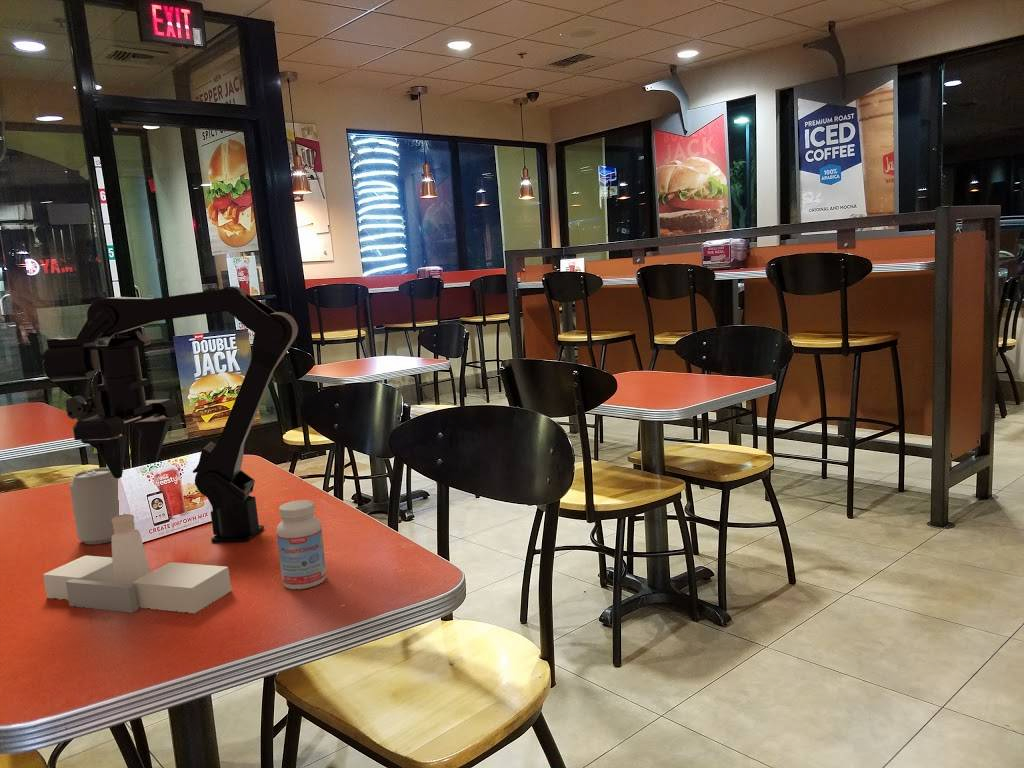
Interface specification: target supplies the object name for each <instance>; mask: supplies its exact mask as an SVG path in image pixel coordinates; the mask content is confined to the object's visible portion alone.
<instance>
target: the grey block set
mask: <svg viewBox="0 0 1024 768" xmlns="http://www.w3.org/2000/svg"><path fill="white" fill-rule="evenodd" d="M42 577H43V583H44V588H45V595H46V598H47V597H48V598H47V599H53V598H57V599H56V600H62V599H66V600H65V601H68V605H69V607H74V606H76V607H75V608H83V607H85V608H86V609H92V608H93V610H101V611H102V610H104V611H111V612H112V611H113V612H121V613H131V614H133V613H134V612H136V611H138V610H139V607H140V609H147V608H150V609H149V610H157V609H158V610H159V611H166V610H167V611H170V612H176V611H177V612H178V613H185V612H188V613H187V614H197V613H198V611H199V612H200V611H201V609H202V610H203V609H205V608H206V607H208V606H210V605H211V604H213V603H214V602H216V601H218V600H219V599H221V598H222V597H224V596H225V595H227V594H229V593H230V592H232V587H231V585H232V584H231V578H230V577H231V576H230V571H229V566H225V565H223V566H222V565H213V564H212V565H210V564H209V565H208V564H198V563H187V562H186V563H185V562H174V561H172V562H171V561H170V562H168V563H166V564H164V565H162V566H160V567H159V568H156V569H154V570H153V571H150V573H149V574H147V575H145V576H143V577H141V578H139V579H137V580H135V581H134V582H132V584H122V583H113V565H112V556H111V557H109V556H97V555H84V556H81V557H79V558H77V559H74V560H72V561H70V562H67V563H65V564H63V565H61V566H59V567H56V568H54V569H51V570H50V571H47V572H45V573H43V574H42ZM212 602H213V603H212ZM209 604H210V605H209ZM204 607H205V608H204ZM85 608H84V609H85ZM196 612H197V613H196Z"/></svg>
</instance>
